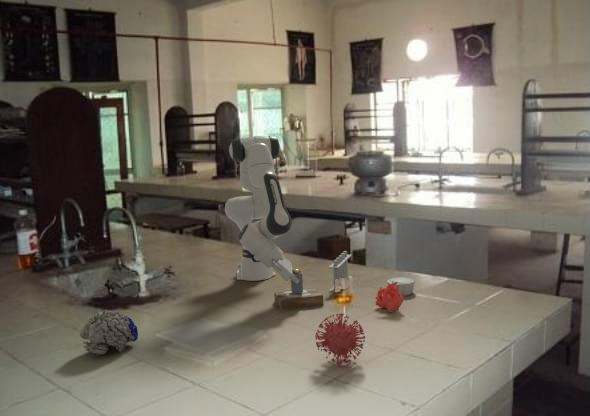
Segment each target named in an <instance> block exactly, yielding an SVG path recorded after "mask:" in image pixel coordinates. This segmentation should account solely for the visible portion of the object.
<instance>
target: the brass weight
mask: <svg viewBox="0 0 590 416" xmlns="http://www.w3.org/2000/svg"><path fill="white" fill-rule="evenodd" d="M292 269H293V274H300V271H301V270H300V269H299V268H292Z"/></svg>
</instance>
